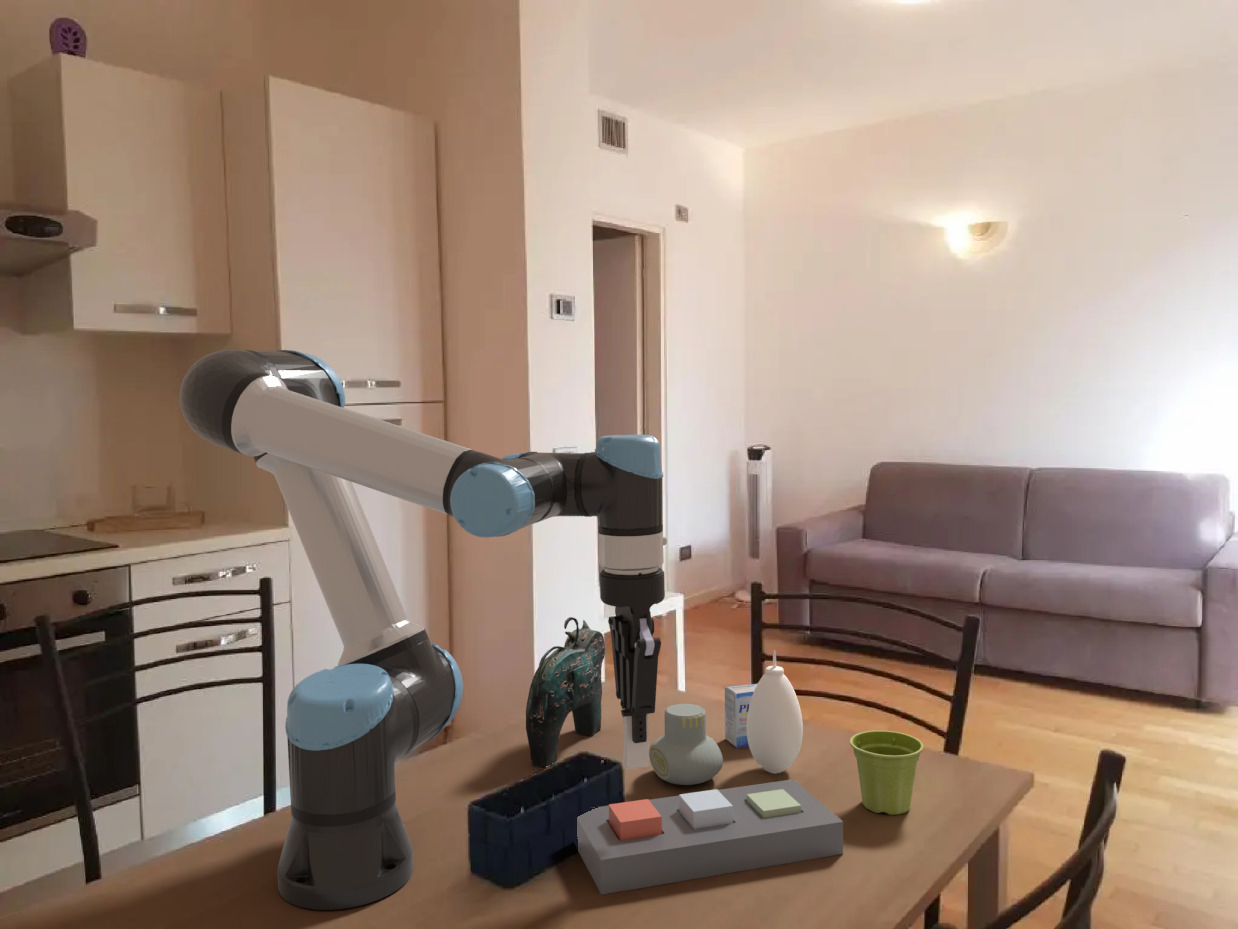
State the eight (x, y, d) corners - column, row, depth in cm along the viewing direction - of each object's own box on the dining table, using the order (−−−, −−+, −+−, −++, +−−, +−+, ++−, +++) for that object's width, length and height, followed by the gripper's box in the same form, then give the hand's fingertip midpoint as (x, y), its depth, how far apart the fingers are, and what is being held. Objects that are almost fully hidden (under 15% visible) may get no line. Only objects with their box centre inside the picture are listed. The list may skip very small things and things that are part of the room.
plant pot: (834, 800, 131) (835, 737, 130) (887, 785, 135) (888, 725, 135) (883, 828, 123) (884, 761, 122) (938, 811, 127) (939, 747, 126)
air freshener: (729, 787, 136) (728, 717, 135) (675, 797, 133) (674, 726, 132) (694, 759, 146) (694, 694, 145) (644, 768, 143) (643, 702, 142)
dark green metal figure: (581, 723, 162) (579, 605, 160) (616, 728, 159) (614, 608, 158) (518, 766, 144) (515, 634, 143) (556, 773, 141) (553, 638, 140)
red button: (620, 847, 112) (620, 822, 112) (609, 828, 117) (608, 804, 117) (661, 841, 114) (661, 816, 113) (648, 822, 118) (648, 799, 118)
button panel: (601, 894, 108) (600, 860, 107) (573, 842, 120) (572, 810, 120) (843, 854, 116) (843, 821, 116) (793, 808, 129) (793, 779, 128)
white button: (693, 836, 115) (693, 811, 115) (679, 818, 120) (679, 794, 119) (733, 830, 116) (732, 806, 116) (717, 812, 121) (717, 789, 121)
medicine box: (735, 749, 150) (735, 694, 149) (724, 739, 154) (724, 685, 153) (782, 743, 152) (782, 689, 151) (769, 733, 156) (769, 680, 155)
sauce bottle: (736, 770, 141) (735, 649, 140) (772, 756, 146) (771, 639, 145) (777, 787, 135) (777, 660, 134) (813, 772, 140) (813, 650, 139)
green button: (763, 835, 117) (763, 811, 117) (746, 817, 122) (746, 794, 122) (801, 829, 119) (801, 805, 119) (782, 812, 124) (782, 789, 123)
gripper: (681, 575, 107) (685, 782, 109) (645, 556, 120) (649, 742, 122) (616, 581, 105) (621, 791, 107) (586, 561, 118) (591, 750, 120)
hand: (636, 765), depth 115 cm, fingers closed
